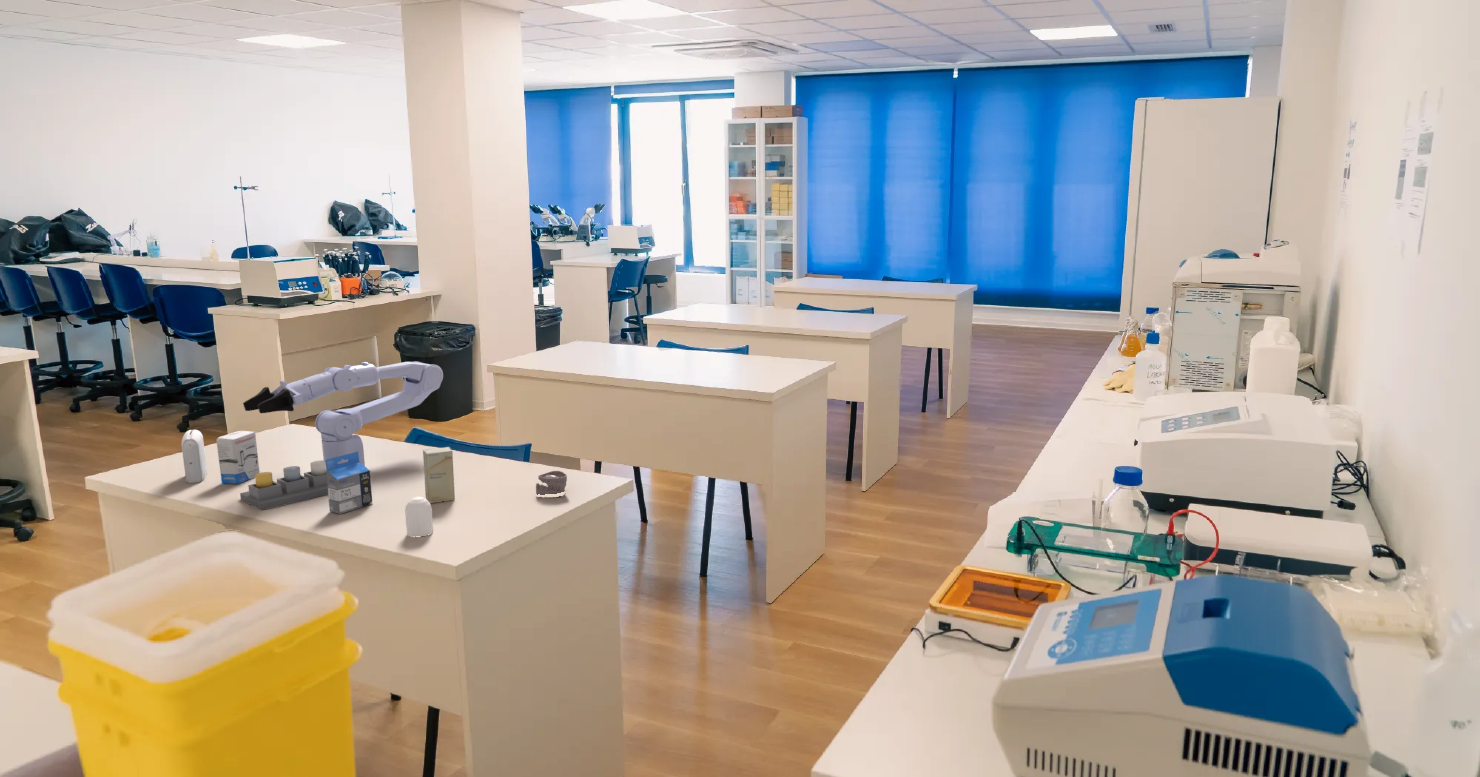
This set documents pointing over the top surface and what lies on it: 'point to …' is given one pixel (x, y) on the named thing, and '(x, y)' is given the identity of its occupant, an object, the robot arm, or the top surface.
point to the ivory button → (318, 468)
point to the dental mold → (551, 483)
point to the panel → (286, 491)
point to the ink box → (238, 457)
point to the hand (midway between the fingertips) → (251, 408)
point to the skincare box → (438, 474)
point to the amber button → (264, 479)
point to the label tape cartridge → (348, 484)
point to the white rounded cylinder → (418, 517)
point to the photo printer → (194, 456)
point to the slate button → (292, 473)
